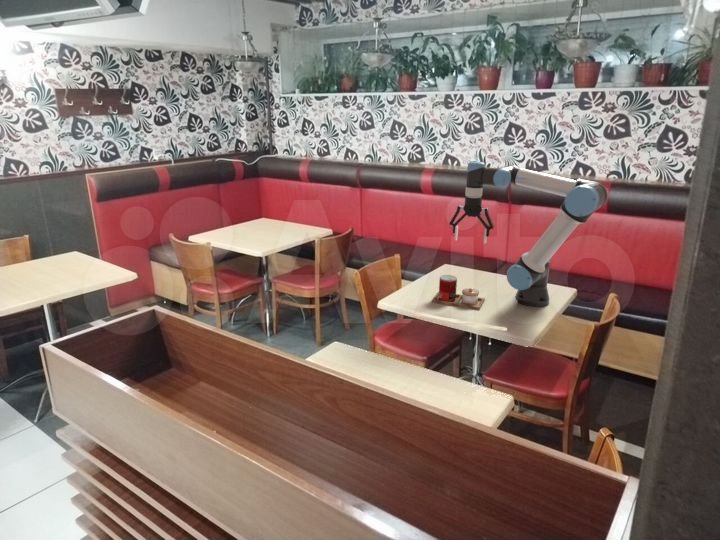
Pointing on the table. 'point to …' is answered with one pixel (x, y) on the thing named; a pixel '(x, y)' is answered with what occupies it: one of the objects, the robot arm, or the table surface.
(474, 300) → the sugar pot
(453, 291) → the canned food
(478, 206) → the robot arm
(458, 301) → the wooden tray
